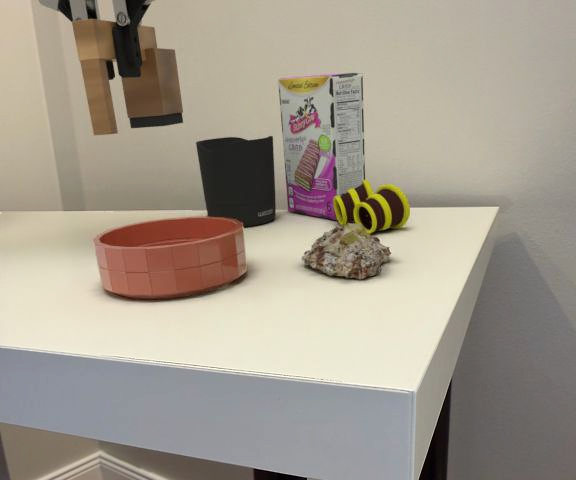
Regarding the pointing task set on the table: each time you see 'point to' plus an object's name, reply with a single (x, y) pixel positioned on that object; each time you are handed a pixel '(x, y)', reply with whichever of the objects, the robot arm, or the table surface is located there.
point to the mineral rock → (347, 252)
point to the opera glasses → (373, 207)
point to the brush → (128, 79)
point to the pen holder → (238, 178)
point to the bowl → (171, 256)
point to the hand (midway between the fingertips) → (117, 76)
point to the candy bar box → (322, 139)
